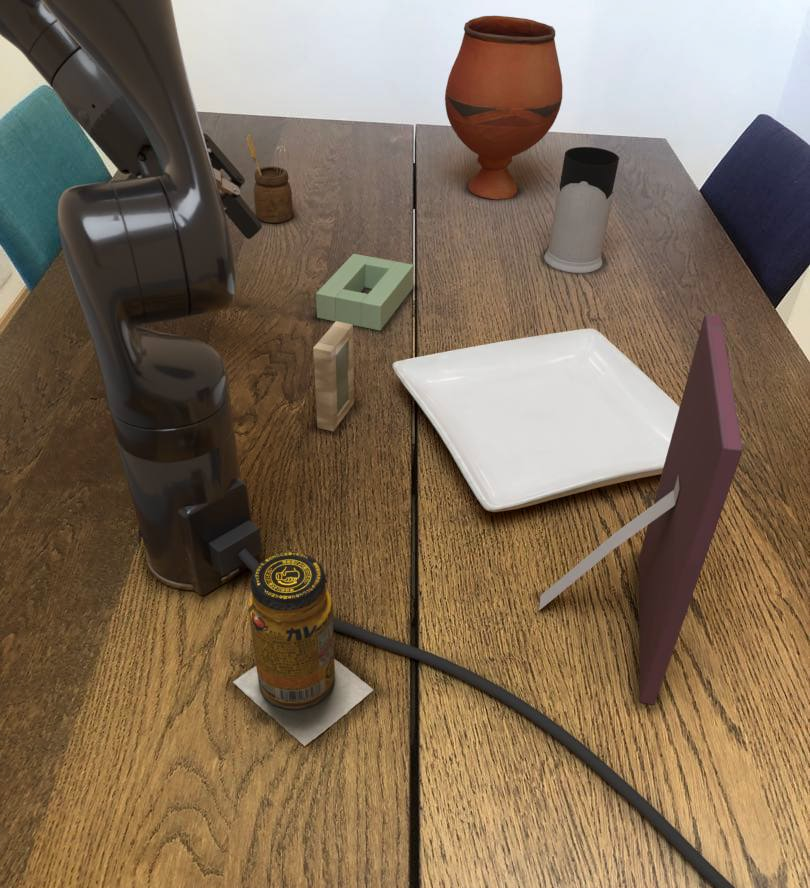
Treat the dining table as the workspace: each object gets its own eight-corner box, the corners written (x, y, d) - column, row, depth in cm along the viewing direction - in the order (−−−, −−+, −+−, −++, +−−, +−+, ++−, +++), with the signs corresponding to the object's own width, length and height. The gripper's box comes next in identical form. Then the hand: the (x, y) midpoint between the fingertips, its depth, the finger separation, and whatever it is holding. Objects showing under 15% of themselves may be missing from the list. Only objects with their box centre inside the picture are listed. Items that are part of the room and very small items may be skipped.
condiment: (302, 633, 69) (293, 528, 60) (373, 691, 65) (374, 587, 56) (233, 683, 65) (213, 578, 57) (304, 748, 61) (294, 645, 52)
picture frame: (654, 705, 65) (759, 452, 47) (530, 682, 66) (588, 428, 49) (651, 561, 76) (733, 317, 59) (546, 543, 78) (597, 300, 61)
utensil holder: (288, 225, 129) (282, 145, 121) (249, 222, 130) (241, 142, 122) (297, 211, 133) (293, 133, 125) (260, 207, 134) (253, 129, 126)
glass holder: (538, 266, 121) (554, 161, 111) (557, 230, 131) (573, 130, 121) (597, 277, 120) (619, 170, 109) (611, 239, 129) (632, 139, 119)
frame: (316, 428, 90) (312, 347, 83) (337, 399, 94) (335, 320, 87) (333, 432, 90) (331, 351, 83) (354, 403, 94) (353, 324, 87)
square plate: (387, 387, 96) (388, 358, 94) (589, 351, 104) (595, 323, 101) (483, 535, 78) (487, 505, 76) (720, 479, 86) (731, 449, 83)
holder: (316, 317, 108) (315, 293, 106) (353, 276, 117) (353, 253, 115) (380, 331, 106) (380, 306, 104) (412, 288, 115) (413, 264, 113)
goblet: (491, 221, 133) (510, 46, 116) (416, 184, 144) (422, 20, 127) (570, 195, 142) (598, 30, 125) (494, 163, 153) (510, 6, 136)
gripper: (88, 102, 70) (220, 259, 75) (178, 61, 79) (290, 203, 85) (51, 155, 74) (178, 299, 80) (140, 111, 84) (248, 242, 90)
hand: (235, 249), depth 82 cm, fingers open, 8 cm apart
